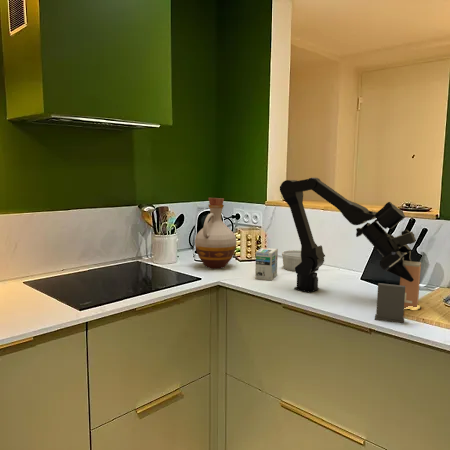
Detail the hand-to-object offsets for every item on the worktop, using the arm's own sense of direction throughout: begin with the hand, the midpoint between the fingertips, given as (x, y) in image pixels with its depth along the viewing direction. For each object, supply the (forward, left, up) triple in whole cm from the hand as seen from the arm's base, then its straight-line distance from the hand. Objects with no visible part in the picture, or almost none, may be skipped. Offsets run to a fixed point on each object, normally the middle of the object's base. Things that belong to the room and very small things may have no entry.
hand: (414, 277), depth 127 cm
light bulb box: (-55, 0, -10) cm, 56 cm away
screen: (-1, -16, -9) cm, 19 cm away
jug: (-81, -2, -10) cm, 82 cm away
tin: (-1, 0, -9) cm, 9 cm away
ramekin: (-54, +21, -10) cm, 59 cm away
